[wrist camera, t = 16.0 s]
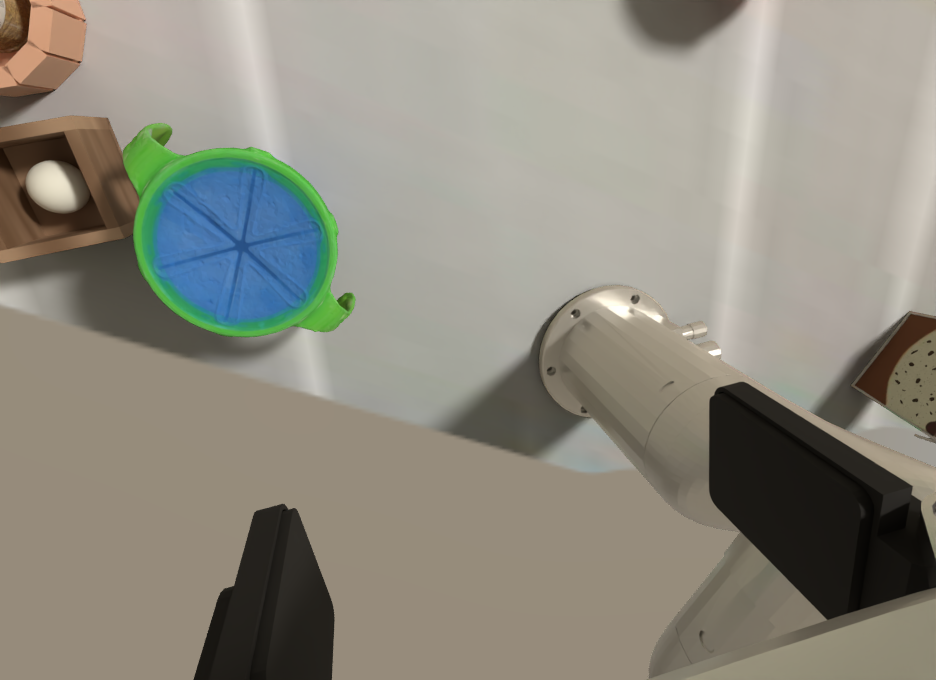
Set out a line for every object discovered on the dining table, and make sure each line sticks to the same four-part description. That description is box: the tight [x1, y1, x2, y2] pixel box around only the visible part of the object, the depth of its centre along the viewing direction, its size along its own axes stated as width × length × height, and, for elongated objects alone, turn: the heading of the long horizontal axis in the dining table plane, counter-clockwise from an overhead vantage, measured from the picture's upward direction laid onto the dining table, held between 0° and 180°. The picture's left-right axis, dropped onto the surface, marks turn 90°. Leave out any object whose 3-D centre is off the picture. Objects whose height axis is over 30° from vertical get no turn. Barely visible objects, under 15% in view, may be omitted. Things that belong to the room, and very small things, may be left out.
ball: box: [26, 160, 90, 214], centre depth 33 cm, size 3×3×3 cm
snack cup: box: [123, 123, 355, 337], centre depth 34 cm, size 16×10×10 cm
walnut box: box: [0, 116, 139, 263], centre depth 33 cm, size 7×7×5 cm
